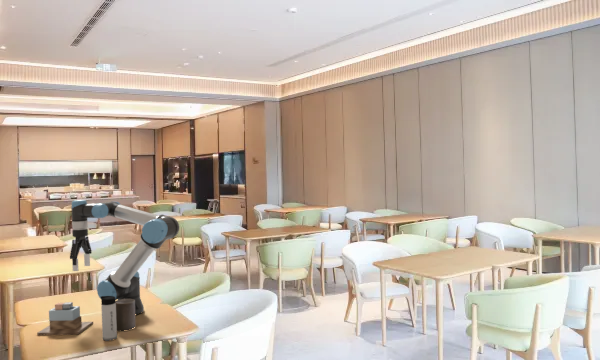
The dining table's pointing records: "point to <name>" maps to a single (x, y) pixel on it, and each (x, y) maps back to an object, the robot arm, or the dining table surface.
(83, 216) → the robot arm
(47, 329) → the dock
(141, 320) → the dining table surface
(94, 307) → the dining table surface
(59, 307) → the terracotta block
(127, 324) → the pillar candle
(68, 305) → the metal block
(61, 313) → the blue-grey open box
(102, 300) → the travel mug
